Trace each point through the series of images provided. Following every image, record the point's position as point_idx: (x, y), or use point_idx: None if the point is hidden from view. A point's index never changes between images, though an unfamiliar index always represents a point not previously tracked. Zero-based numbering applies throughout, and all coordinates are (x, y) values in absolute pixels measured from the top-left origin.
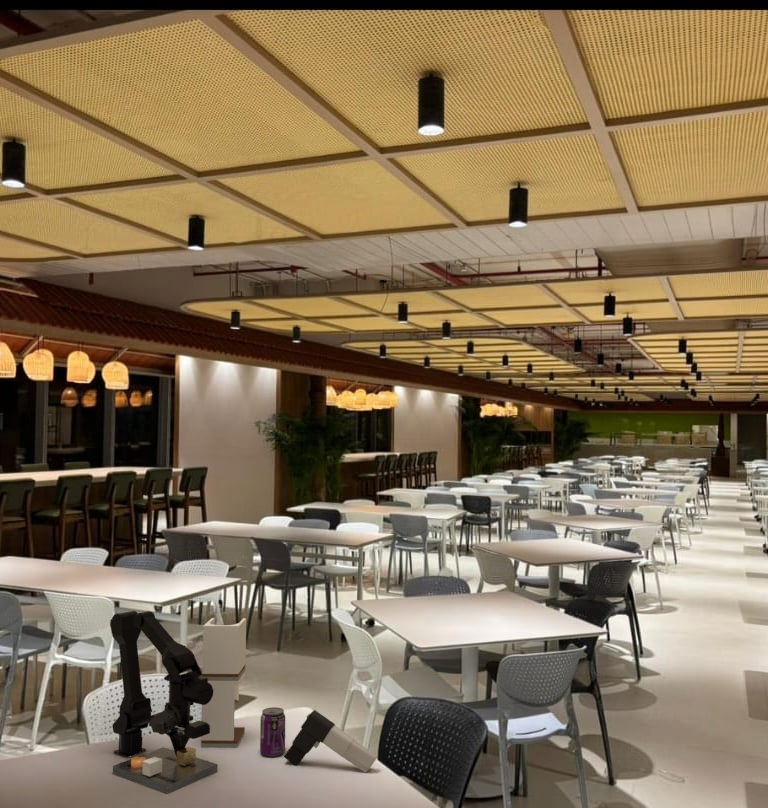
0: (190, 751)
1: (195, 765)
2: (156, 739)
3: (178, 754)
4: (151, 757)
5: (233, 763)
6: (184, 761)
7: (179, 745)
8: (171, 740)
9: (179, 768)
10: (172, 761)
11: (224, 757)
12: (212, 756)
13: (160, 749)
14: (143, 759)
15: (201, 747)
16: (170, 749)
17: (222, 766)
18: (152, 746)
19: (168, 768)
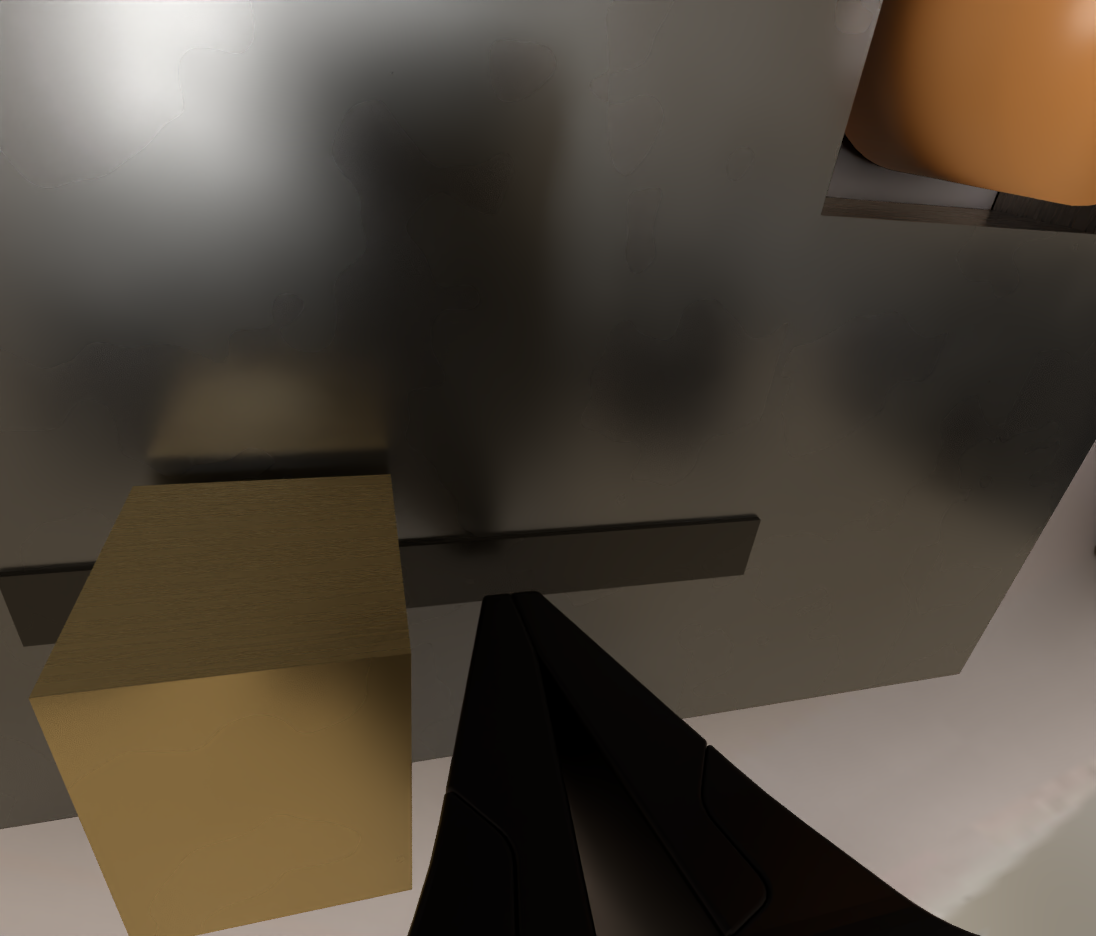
0: (94, 838)
1: (17, 630)
2: (1085, 721)
3: (338, 604)
4: (964, 406)
5: (31, 933)
6: (107, 545)
7: (442, 832)
8: (789, 839)
9: (143, 368)
10: (564, 499)
11: (284, 918)
12: (413, 861)
13: (961, 622)
14: (1064, 84)
15: None
16: (850, 687)
17: (38, 842)
18: (1070, 643)
19: (347, 222)
